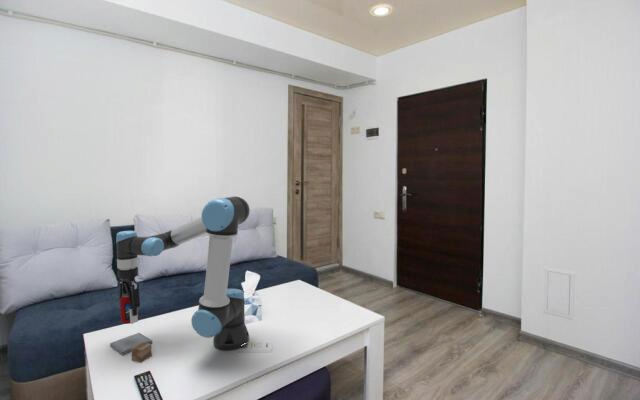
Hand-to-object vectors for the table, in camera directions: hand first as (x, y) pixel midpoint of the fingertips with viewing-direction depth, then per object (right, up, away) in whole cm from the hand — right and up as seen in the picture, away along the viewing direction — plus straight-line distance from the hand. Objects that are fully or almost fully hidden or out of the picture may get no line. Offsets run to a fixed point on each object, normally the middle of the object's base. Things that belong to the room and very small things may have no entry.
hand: (130, 320), depth 143 cm
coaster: (0, -11, +1) cm, 11 cm away
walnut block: (+10, -12, -9) cm, 18 cm away
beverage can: (0, -1, 0) cm, 1 cm away
